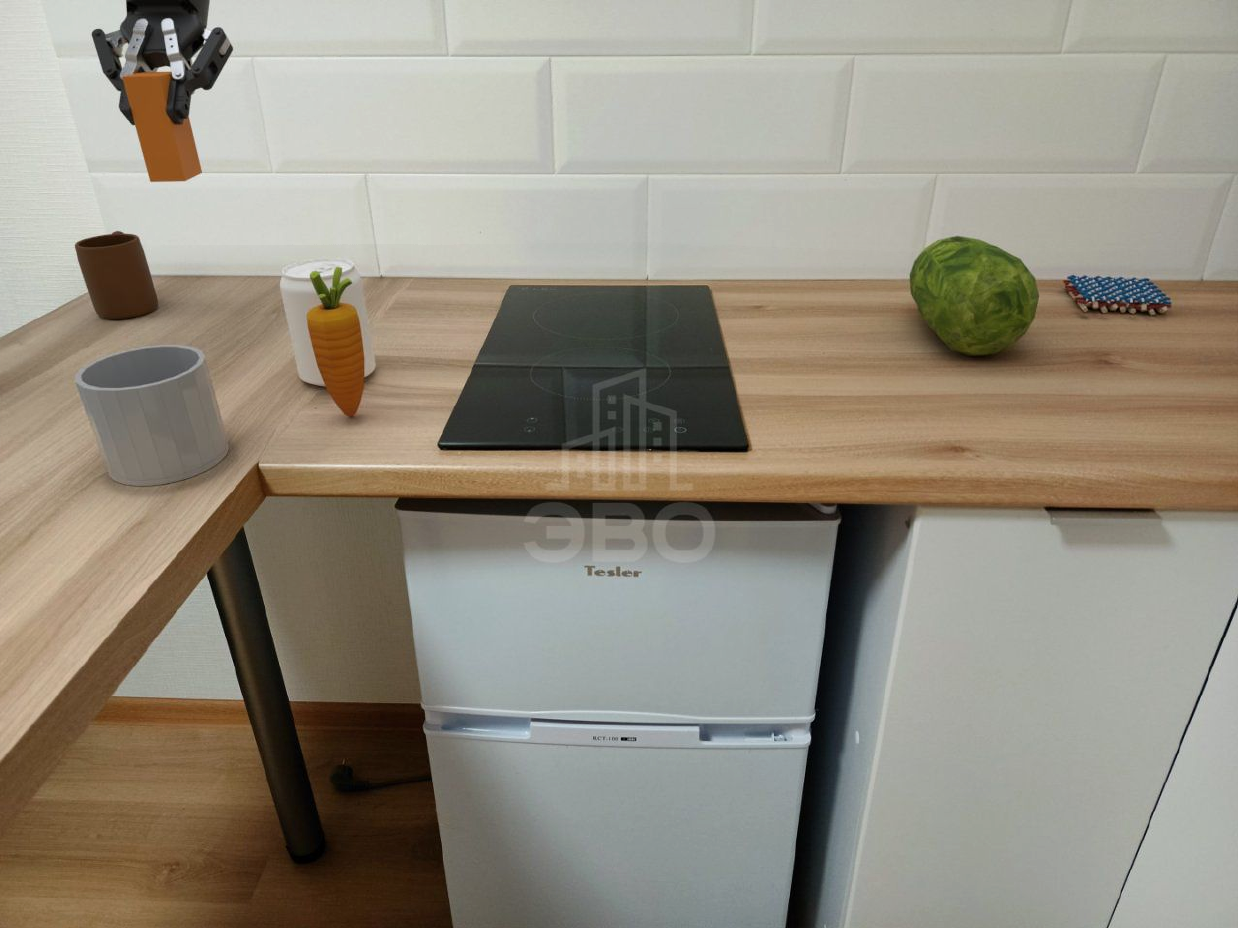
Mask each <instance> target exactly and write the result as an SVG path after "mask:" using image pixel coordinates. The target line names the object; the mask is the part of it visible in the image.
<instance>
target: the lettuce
mask: <svg viewBox="0 0 1238 928" xmlns="http://www.w3.org/2000/svg"><path fill="white" fill-rule="evenodd" d="M1037 284H1038V283H1037V280H1036V277H1035V276H1034V274H1033V273H1032V272H1031V271H1030V270H1029V268H1028V267H1027V266H1026V265H1025V263H1024V262H1023V259H1021V258H1019V257H1018V256H1016V255H1013V254H1011V253H1009V252H1007V251H1006V250H1004V249H1002V248H1001V247H999V246H996V245H995V244H992V243H988V242H986V241H984V240H982V239H979V238H973V237H972V238H971V237H967V236H962V235H961V236H960V235H955V236H950V237H946V238H940V239H937V240H936V241H935V240H934V241H933V242H932V243H931V244H929V245H928V246H926V247H925V248H923V250H922V251H921V252H920V253H919V254H918V256H916V258H915V259H914V262H913V263H912V266H911V270H910V272H909V288H910V295H911V297H912V299H913V302H914V303H915V304H916V306H917V307H916V308H917V310H918V313H919V314H920V316H921V317H922V319H923V320H924V322H925V324H926V325H927V326H928V327H929V328H930V329H931V330H932V331H933V332H934V333H935V334H936V335H937V336H938V338H939V339H940V340H941V341H942V342H943V343H944V344H945V345H946V346H947V347H948V348H949V350H951V351H953V352H956V353H958V354H962V355H964V356H967V357H977V356H979V357H980V356H990V355H993V354H996V353H998V352H1001V351H1003V350H1006V349H1007V348H1010V347H1011V346H1013V345H1015V344H1016V343H1017V342H1018V341H1019V340H1020V339H1021V338H1022V337H1024V335H1026V333H1027V332H1028V330H1029V329H1030V327H1031V325H1032V324H1033V321H1034V320H1035V318H1036V313H1037V309H1038V304H1039V299H1040V293H1039V289H1038V285H1037Z"/></svg>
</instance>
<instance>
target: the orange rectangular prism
mask: <svg viewBox="0 0 1238 928" xmlns="http://www.w3.org/2000/svg"><path fill="white" fill-rule="evenodd" d="M122 78H123V82H124V86H125V90H126V93H127V97H128V101H129V104H130V108H131V111H132V115H133V119H134V123H135V125H134V126H135V130H136V134H137V138H138V142H139V145H140V149H141V153H142V157H143V160H144V164H145V167H146V171H147V176H148V179H149V182H150V183H165V182H167V183H168V182H169V183H170V182H171V183H173V182H186V181H188V180H191V179H193V178H195V177H197V176H198V175H201V174H202V173H203V170H202V166H201V162H200V158H199V154H198V150H197V145H196V141H195V136H194V132H193V129H192V125H191V121H190V115H189V116H188V117H187V119H184V120H183V124H182V125H175V124H174V123H173V122H172V120H171V119H170V118H169V117H168V115H167V113H166V105H167V98H168V90H169V83H170V81H173V80H174V78H173V77H172V72H171V71H157V72H141V73H136V74H131V75H126V76H122Z"/></svg>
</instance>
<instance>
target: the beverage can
mask: <svg viewBox="0 0 1238 928" xmlns="http://www.w3.org/2000/svg"><path fill="white" fill-rule="evenodd" d="M336 267H340V268H342V273H341V278H340V282H341V281H343V280H344V279H346V278H349V279H350V280H351V281H352V284H351V285H349V286H347V287H346V289H345V290H344V291H343V293H342V295H341V298H340V301H339V302H340V303H347V304H350V305H352V306H354V307H355V309H356V311H357V314H358V317H359V321H360V328H361V335H362V342H363V351H364V378H366V377H368V376H369V375H371V374H372V373H373V372H374V371H375V369H376V367H377V364H376V363H377V362H376V357H375V352H374V351H375V350H374V346H373V340H372V332H371V327H370V321H369V315H368V309H367V304H366V298H365V292H364V285H363V280H362V276H361V274H360V272H359V270H358V269H356V267H355V263H354V262H353V261H352V260H350V259H347V258H341V257H319V258H310V259H309V258H308V259H304V260H299V261H296V262H293V263H290V264H288V265H286V266H285V267H283V268H282V269H281V274H282V276H281V278H280V281H279V289H280V294H281V300H282V303H283V309H284V313H285V317H286V322H287V326H288V331H289V336H290V341H291V345H292V351H293V354H294V359H295V363H296V368H297V373H298V377H299V378H300V379H301V380H302V381H303V382H305V383H307V384H311V385H315V386H318V387H325V388H326V386H325V383H324V381H323V379H322V376H321V374H320V371H319V369H318V366H317V362H316V359H315V355H314V351H313V347H312V343H311V339H310V334H309V330H308V324H307V313H308V312H309V310H310V309H312V308H314V307H316V306H318V305H321V304H322V302H321V300H320V298H319V297H318V294H317V292H316V290H315V288H314V286H313V284H312V281H311V279H310V274H311V273H312V272H313V271H318V272H319V274H320V276H321V279H322V280H323V282H324V283H325V285H326V286H327V288H328V290H329V292H330V288H331V287H332V282H333V274H334V271H335V268H336Z"/></svg>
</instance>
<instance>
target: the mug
mask: <svg viewBox="0 0 1238 928" xmlns="http://www.w3.org/2000/svg"><path fill="white" fill-rule="evenodd" d="M74 248H75V253H76V258H77V261H78V265H79V268H80V271H81V274H82V277H83V280H84V283H85V286H86V289H87V292H88V294H89V297H90V301H91V304H92V307H93V309H94V311H95V314H96V315H97V316H98V317H99V318H102V319H106V320H127V319H132V318H138V317H141V316H144V315H148V314H150V313H152V312H153V311H155V310H156V309H157V308H158V306H159V299H158V296H157V292H156V288H155V284H154V282H153V277H152V274H151V270H150V266H149V263H148V260H147V257H146V253H145V249H144V246H143V245H142V242H141V240H140V237H139V236H138V235H137V234H133V233H125V232H123V231H121V230H115V231H113V232H112V233H109V234H108V233H107V234H102V235H95V236H92V237H88V238H87V237H86V238H84V239H81V240H78V241H77V242H76V243H74Z"/></svg>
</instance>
